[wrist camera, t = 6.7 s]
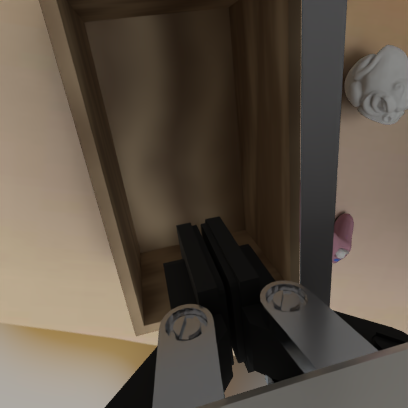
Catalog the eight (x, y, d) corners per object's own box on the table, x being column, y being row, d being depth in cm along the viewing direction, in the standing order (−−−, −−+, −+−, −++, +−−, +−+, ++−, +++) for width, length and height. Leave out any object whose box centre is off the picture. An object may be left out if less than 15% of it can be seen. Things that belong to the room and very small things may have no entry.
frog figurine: (328, 122, 34) (374, 132, 27) (330, 53, 31) (381, 46, 25) (376, 113, 35) (432, 120, 28) (382, 45, 32) (445, 36, 25)
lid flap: (302, -58, 16) (318, -62, 16) (299, 294, 26) (309, 295, 26) (305, -402, 4) (372, -439, 4) (299, 502, 14) (318, 507, 13)
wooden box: (234, -2, 27) (301, -57, 16) (250, 231, 37) (299, 293, 26) (72, 13, 25) (28, -38, 14) (134, 256, 35) (135, 336, 24)
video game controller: (271, 198, 38) (278, 243, 32) (299, 176, 35) (312, 220, 30) (324, 231, 41) (337, 275, 36) (353, 213, 39) (372, 258, 34)
